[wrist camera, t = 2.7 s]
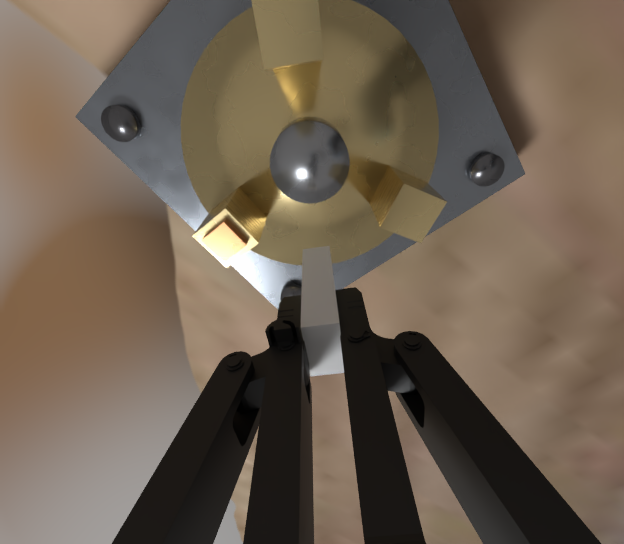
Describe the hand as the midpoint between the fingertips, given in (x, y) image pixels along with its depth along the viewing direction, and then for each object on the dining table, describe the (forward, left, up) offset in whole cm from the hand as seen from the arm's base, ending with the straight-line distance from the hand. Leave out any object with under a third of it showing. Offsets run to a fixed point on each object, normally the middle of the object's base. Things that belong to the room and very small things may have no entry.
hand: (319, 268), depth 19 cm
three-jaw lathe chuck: (-3, -5, -5) cm, 8 cm away
